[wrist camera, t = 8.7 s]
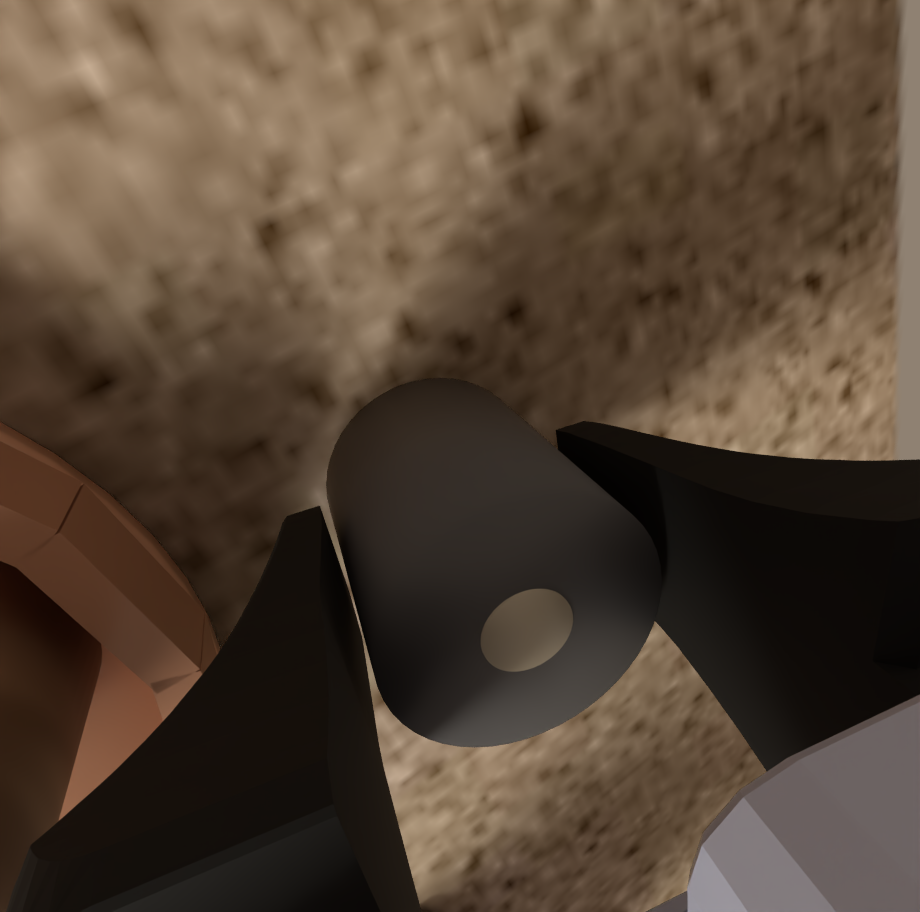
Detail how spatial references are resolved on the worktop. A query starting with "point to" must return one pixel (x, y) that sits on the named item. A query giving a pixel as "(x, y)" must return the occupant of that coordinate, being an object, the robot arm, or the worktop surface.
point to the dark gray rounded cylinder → (484, 566)
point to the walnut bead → (37, 714)
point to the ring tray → (104, 600)
